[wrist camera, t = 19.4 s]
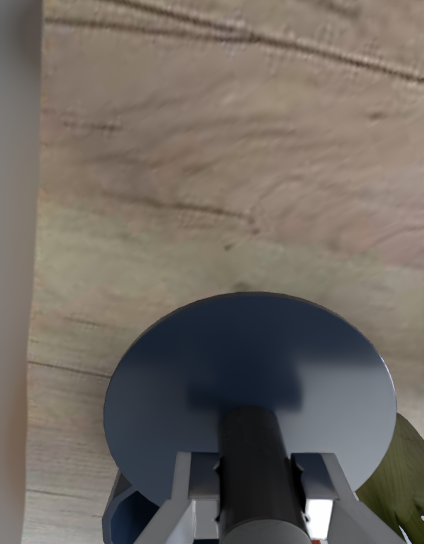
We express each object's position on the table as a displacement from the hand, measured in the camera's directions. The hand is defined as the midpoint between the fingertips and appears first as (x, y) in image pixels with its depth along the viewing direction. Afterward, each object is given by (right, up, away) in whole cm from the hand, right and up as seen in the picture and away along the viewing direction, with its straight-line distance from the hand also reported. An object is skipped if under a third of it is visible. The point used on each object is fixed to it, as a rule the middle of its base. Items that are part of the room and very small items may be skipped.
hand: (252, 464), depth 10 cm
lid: (0, +1, +2) cm, 2 cm away
